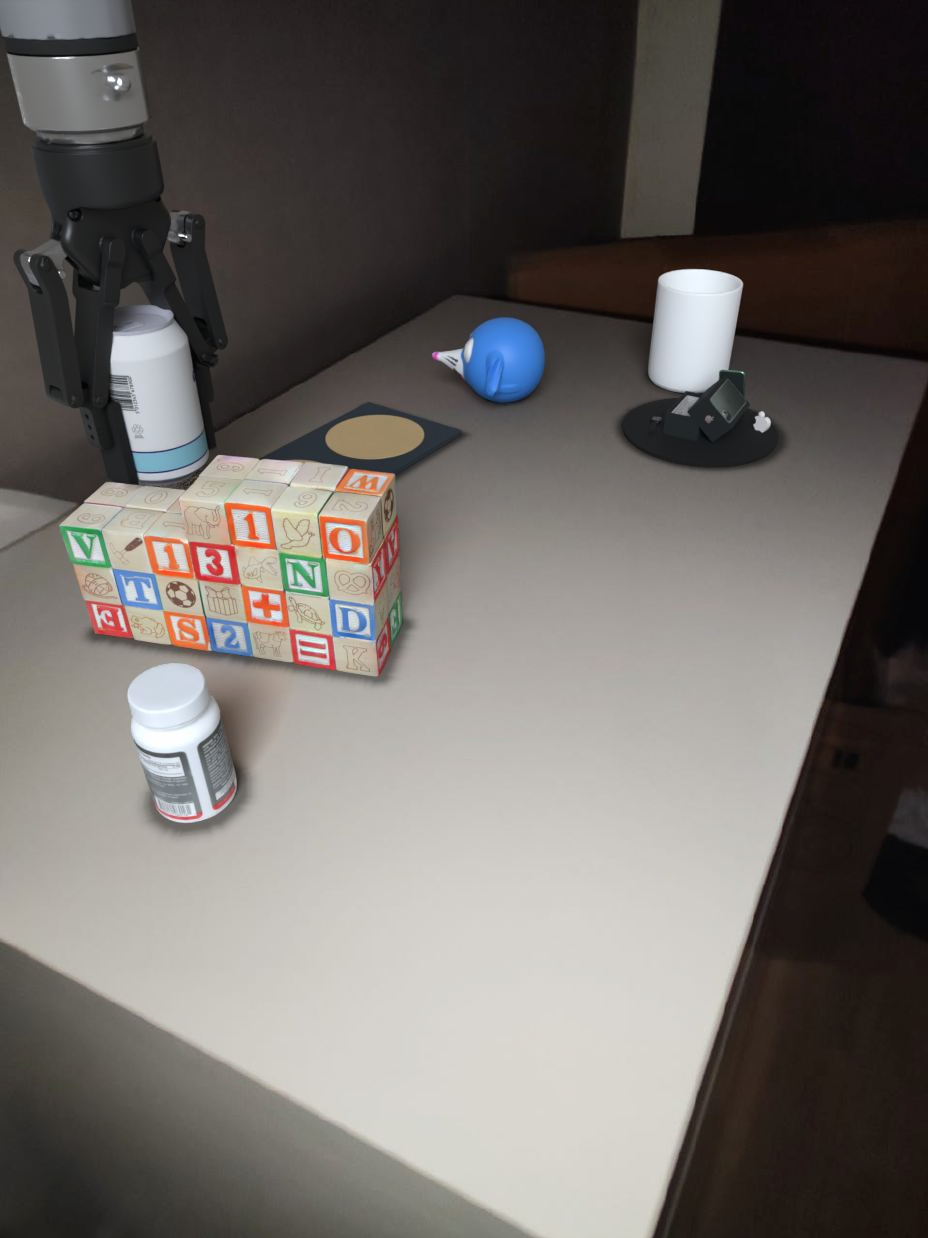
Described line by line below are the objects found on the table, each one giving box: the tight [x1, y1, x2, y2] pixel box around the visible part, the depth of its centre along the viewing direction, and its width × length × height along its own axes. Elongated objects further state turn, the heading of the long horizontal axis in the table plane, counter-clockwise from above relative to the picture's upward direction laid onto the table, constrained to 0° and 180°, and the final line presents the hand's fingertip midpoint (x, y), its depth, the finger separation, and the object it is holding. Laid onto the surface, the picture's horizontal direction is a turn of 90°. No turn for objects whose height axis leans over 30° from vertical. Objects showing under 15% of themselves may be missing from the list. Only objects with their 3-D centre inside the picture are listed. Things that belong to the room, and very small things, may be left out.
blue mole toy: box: [431, 316, 546, 404], centre depth 95 cm, size 12×12×8 cm
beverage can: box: [108, 304, 210, 487], centre depth 68 cm, size 7×7×12 cm
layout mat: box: [258, 401, 462, 477], centre depth 85 cm, size 12×24×1 cm, turn 144°
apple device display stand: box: [622, 369, 779, 468], centre depth 89 cm, size 15×15×6 cm
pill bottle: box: [126, 662, 238, 824], centre depth 50 cm, size 5×5×8 cm
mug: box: [647, 268, 744, 394], centre depth 99 cm, size 9×12×11 cm
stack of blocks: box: [58, 454, 403, 677], centre depth 62 cm, size 21×6×12 cm, turn 77°
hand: (163, 461), depth 71 cm, fingers closed on beverage can, 7 cm apart
